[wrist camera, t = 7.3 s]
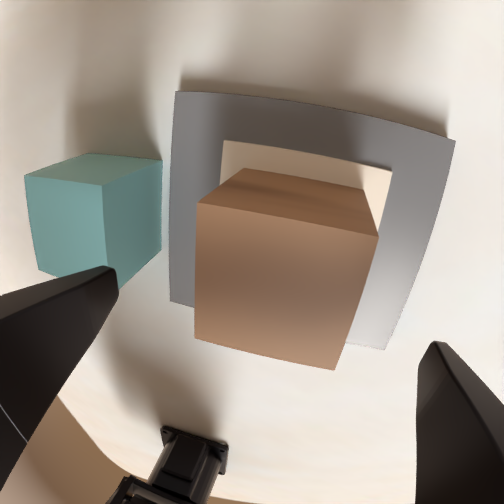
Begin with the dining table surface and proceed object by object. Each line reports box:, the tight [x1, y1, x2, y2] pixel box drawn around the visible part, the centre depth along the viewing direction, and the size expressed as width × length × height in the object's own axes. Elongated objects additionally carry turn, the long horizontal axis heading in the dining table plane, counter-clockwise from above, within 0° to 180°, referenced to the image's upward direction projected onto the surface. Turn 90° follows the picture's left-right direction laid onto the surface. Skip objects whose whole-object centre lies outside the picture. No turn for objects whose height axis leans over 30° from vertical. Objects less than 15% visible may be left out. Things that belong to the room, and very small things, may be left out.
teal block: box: [24, 153, 163, 289], centre depth 15 cm, size 5×5×5 cm
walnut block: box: [195, 168, 379, 370], centre depth 12 cm, size 5×5×5 cm
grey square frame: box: [169, 91, 456, 350], centre depth 15 cm, size 11×12×1 cm
